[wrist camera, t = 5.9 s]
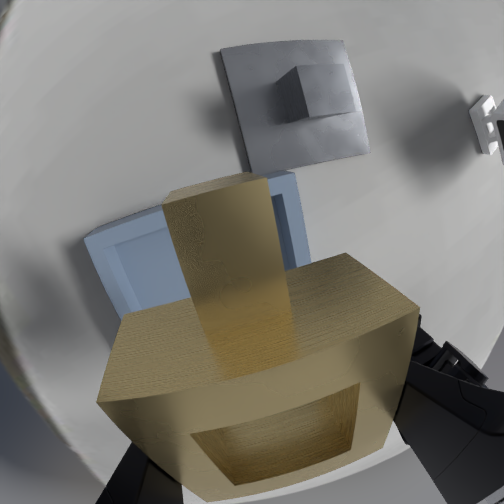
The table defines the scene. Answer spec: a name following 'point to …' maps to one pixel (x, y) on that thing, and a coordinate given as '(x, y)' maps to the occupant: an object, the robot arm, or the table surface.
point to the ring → (257, 353)
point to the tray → (164, 256)
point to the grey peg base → (295, 103)
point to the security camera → (489, 124)
